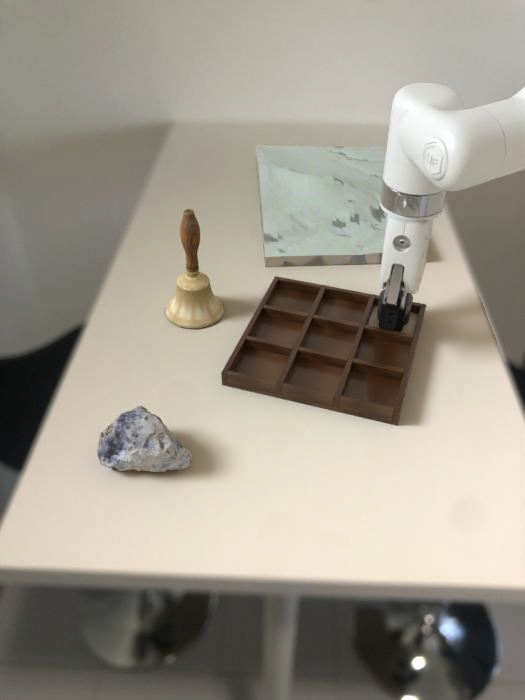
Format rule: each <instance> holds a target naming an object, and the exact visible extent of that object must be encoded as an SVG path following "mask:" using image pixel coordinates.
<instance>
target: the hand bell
mask: <svg viewBox="0 0 525 700" xmlns="http://www.w3.org/2000/svg"><path fill="white" fill-rule="evenodd" d="M179 235H180V241H181V245H182V248H183V249H184V253H185V265H186V266H185V270H186V271H185V272H184V273H181V274H180V275H179V276H178V278H177V280H176V289H175V295H174V297H172V298H171V299H170V300H169V302H168V303H167V305H166V307H165V316H166V318H167V319H168V321H170V322H171V323H172V324H173V325H175V326H178V327H179V328H183V329H191V330H192V329H196V330H197V329H204V328H207V327H210V326H213V325H214V324H216V323H217V322H219V321H220V320H221V319H222V318H223V316H224V313H225V306H224V303H223V301H222V300H221V299H220V297H218V296H217V295H215V294H214V292H213V290H212V287H211V281H210V278H209V276H208V275H207V274H206V273H204V272H201V271H200V265H199V257H198V253H199V252H198V251H199V247H200V243H201V227H200V224H199V221H198V219H197V217H196V214H195V211H194V209H191V208H186V209H184V210H183V215H182V219H181V222H180V227H179Z"/></svg>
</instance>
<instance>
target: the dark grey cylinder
mask: <svg viewBox="0 0 525 700" xmlns="http://www.w3.org/2000/svg"><path fill="white" fill-rule="evenodd" d="M384 292H385V288H384V289H382V290H381V291H380V293H379V294H378V295H379V303H378V310H377V319H378V321H379V317H380V310H381V303H382V301H383V298H384ZM398 297H402V292H400V291H399V295H398ZM412 302H414V296H413V294H412V293H407V295H406V301H405V306H407V307H406V313H405V319H404V325H403V326H405V325H406V324H407V323H408V322H409V319H410V313H411V308H412Z"/></svg>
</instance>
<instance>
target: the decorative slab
mask: <svg viewBox="0 0 525 700" xmlns="http://www.w3.org/2000/svg"><path fill="white" fill-rule="evenodd" d="M385 157H386V149H385V147H384V145H373V146H372V145H371V146H370V145H369V146H367V145H365V146H364V145H363V146H362V145H361V146H360V145H347V146H346V145H345V146H343V145H342V146H338V145H337V146H330V145H329V146H328V145H327V146H320V145H274V144H260V143H259V144H258V143H256V144H255V166H256V179H257V189H258V190H257V191H258V199H259V200H258V201H259V209H260V210H259V211H260V223H261V233H262V245H263V246H262V247H263V257H264V267H265V268H269V267H271V268H272V267H275V268H276V267H305V266H306V267H307V266H312V267H313V266H342V265H343V266H344V265H345V266H346V265H347V266H348V265H381V262H382V253H383V245H384V238H385V231H386V224H387V217H388V214H386V213H385V212H384V211H383V210H382V209H381V207H380V198H381V190H382V182H383V173H384V165H385Z"/></svg>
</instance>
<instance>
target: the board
mask: <svg viewBox="0 0 525 700" xmlns="http://www.w3.org/2000/svg"><path fill="white" fill-rule="evenodd" d="M379 295H380V294H373V293H368V292H362V291H358V290H352V289H346V288H340V287H336V286H330V285H327V284H326V285H325V284H321V283H315V282H310V281H309V282H308V281H303V280H299V279H293V278H287V277H284V276H277V275H275V276H274V278H273V279H272V281H271V283H270V284H269V285H268V288H267V290H266V291H265V293H264V295H263V297H262V299H261V300H260V302H259V305H258V306H257V308H256V310H255V311H254V313H253V315H252V317H251V318H250V320H249V322H248V324H247V326H246V327H245V329H244V331H243V333H242V335H241V336H240V338H239V340H238V342H237V344H236V345H235V346H234V349H233V351H232V353H231V355H230V356H229V358H228V360H227V362H226V363H225V365H224V367H223V369H221V370H222V371H221V372H220V375H221V376H220V377H221V385H222V386H226V387H231V388H234V389H238V390H243V391H248V392H251V393H255V394H260V395H264V396H269V397H273V398H277V399H282V400H286V401H291V402H293V403H299V404H304V405H306V406H307V405H308V406H311V407H316V408H319V409H325V410H328V411H334V412H338V413H342V414H346V415H351V416H355V417H358V418H363V419H367V420H372V421H377V422H380V423H385V424H389V425H393V426H398V425H399V421H400V417H401V414H402V410H403V409H402V408H403V405H404V401H405V396H406V392H407V388H408V384H409V381H410V376H411V371H412V368H413V364H414V360H415V355H416V351H417V349H418V348H417V347H418V343H419V340H420V335H421V331H422V327H423V323H424V320H425V319H424V318H425V314H426V309H427V303H421V302H416V301H413V302H412V308H411V313H410V319H409V322H408V323H407V324H406V325H405V326H403V330H402V331H401V332H399V331H394V330H389V329H384V328H380V327H379V326H378V324H379V321H378V319H377V310H378V303H379Z"/></svg>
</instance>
